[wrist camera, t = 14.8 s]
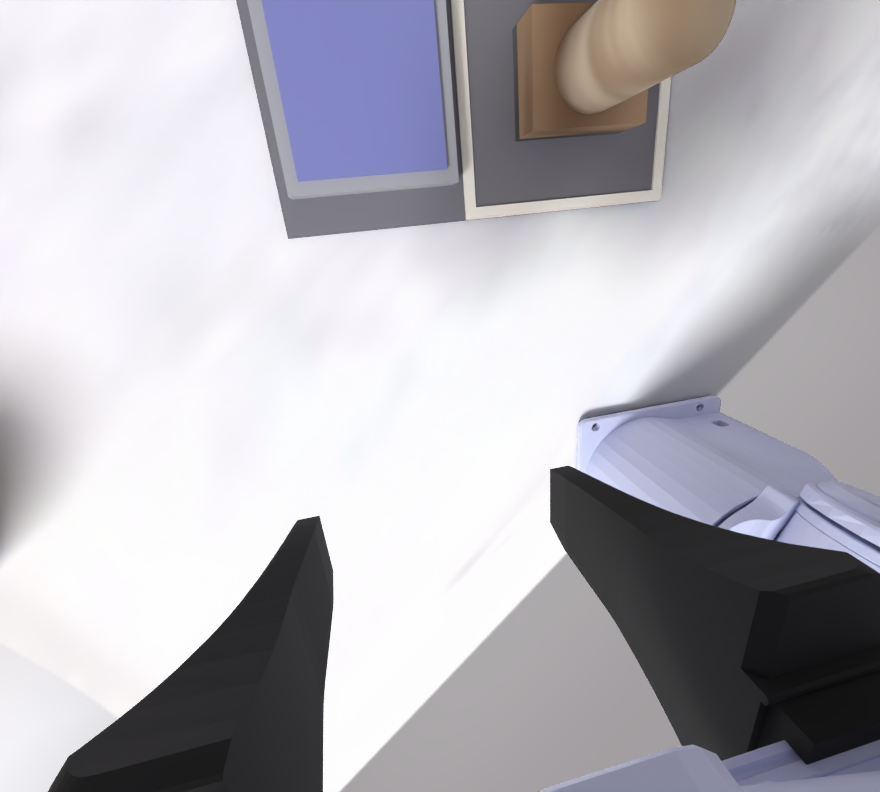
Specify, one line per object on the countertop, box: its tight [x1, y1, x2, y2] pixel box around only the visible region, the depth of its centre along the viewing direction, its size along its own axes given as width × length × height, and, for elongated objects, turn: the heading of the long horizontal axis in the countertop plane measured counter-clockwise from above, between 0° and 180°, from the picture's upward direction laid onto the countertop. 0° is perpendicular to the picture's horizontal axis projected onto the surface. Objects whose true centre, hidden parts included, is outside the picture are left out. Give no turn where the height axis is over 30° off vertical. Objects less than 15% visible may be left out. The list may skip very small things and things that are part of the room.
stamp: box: [512, 0, 736, 141], centre depth 15 cm, size 5×4×7 cm
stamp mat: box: [236, 0, 672, 239], centre depth 17 cm, size 18×10×2 cm, turn 96°
